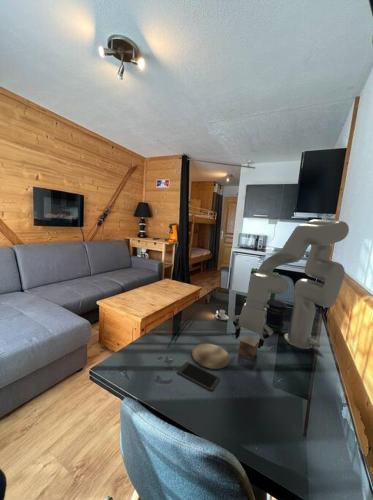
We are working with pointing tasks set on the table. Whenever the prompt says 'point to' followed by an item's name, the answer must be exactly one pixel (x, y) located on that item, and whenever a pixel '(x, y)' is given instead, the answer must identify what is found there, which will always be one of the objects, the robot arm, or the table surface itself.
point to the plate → (210, 356)
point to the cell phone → (199, 376)
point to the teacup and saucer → (222, 315)
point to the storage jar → (275, 315)
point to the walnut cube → (248, 346)
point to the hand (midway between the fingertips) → (248, 342)
